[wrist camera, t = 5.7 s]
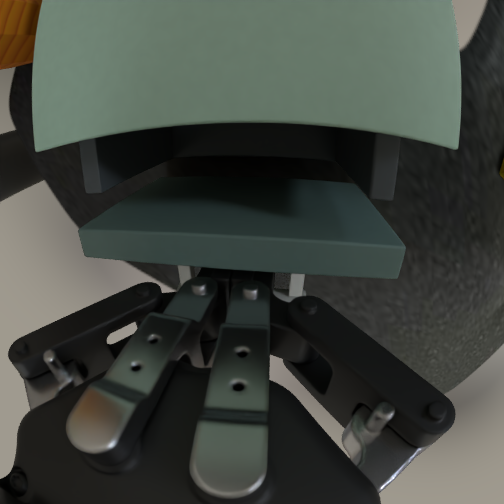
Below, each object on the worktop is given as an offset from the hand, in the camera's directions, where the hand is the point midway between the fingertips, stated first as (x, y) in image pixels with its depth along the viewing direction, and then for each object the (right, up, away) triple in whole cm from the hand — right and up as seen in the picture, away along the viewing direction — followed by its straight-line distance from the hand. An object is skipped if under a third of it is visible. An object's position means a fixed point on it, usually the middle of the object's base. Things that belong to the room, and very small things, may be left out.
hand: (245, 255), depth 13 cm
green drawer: (0, +7, 0) cm, 7 cm away
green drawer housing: (+1, +14, -2) cm, 14 cm away
